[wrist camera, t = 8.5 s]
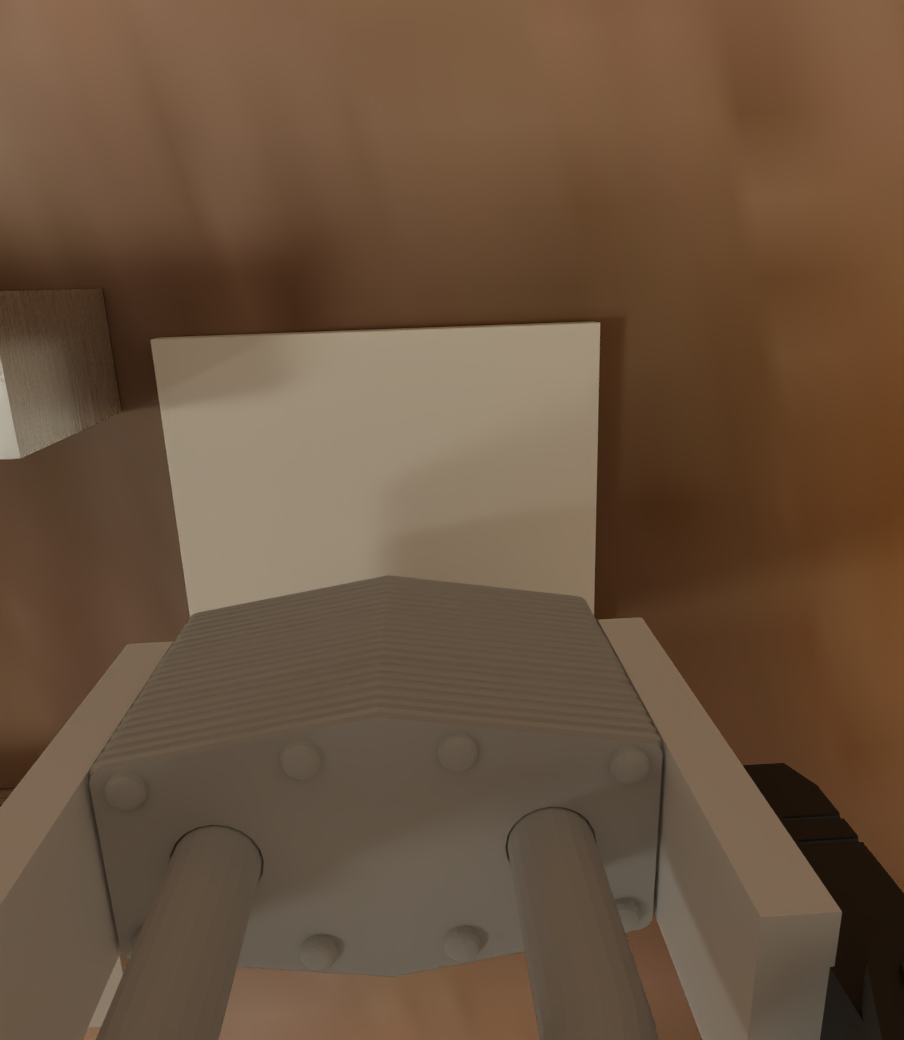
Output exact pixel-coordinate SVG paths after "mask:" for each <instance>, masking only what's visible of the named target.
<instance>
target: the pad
mask: <svg viewBox="0 0 904 1040" xmlns="http://www.w3.org/2000/svg"><path fill="white" fill-rule="evenodd" d="M150 341H151V348H152V355H153V362H154V369H155V376H156V383H157V390H158V397H159V404H160V411H161V418H162V425H163V432H164V439H165V446H166V453H167V460H168V467H169V474H170V481H171V488H172V495H173V502H174V509H175V516H176V523H177V530H178V537H179V544H180V551H181V558H182V565H183V572H184V579H185V586H186V593H187V600H188V607H189V614H190V616H192V615H193V614H195V613H198V612H203V611H208V610H213V609H219V608H224V607H229V606H234V605H239V604H244V603H249V602H254V601H259V600H265V599H270V598H275V597H280V596H285V595H290V594H295V593H300V592H305V591H310V590H316V589H321V588H326V587H331V586H336V585H341V584H346V583H351V582H356V581H361V580H367V579H372V578H377V577H382V576H387V575H390V576H399V577H408V578H417V579H426V580H435V581H444V582H454V583H463V584H472V585H481V586H490V587H499V588H508V589H517V590H526V591H535V592H544V593H553V594H562V595H572V596H579V597H582V598H583V599H585V600H586V602H587V604H588V606H589V608H590V609H591V611H592V613H593V615H594V591H595V544H596V498H597V452H598V405H599V359H600V323H599V322H594V321H590V322H563V323H536V324H509V325H482V326H455V327H428V328H402V329H375V330H348V331H321V332H294V333H267V334H240V335H213V336H186V337H160V338H155V339H151V340H150Z"/></svg>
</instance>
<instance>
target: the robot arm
mask: <svg viewBox="0 0 904 1040" xmlns="http://www.w3.org/2000/svg"><path fill="white" fill-rule="evenodd" d="M598 624H599V626H600V628H601V629H602V632H603V634H604V635H605V637H606V639H607V641H608V643H609V644H610V646H611V648H612V650H613V652H614V654H615V656H616V657H617V659H618V661H619V663H620V664H621V667H622V669H623V670H624V672H625V674H626V677H628V679H629V681H630V684H631V685H632V687H633V689H634V691H635V692H636V694H637V696H638V698H639V700H640V701H641V703H642V705H643V708H644V709H645V710H646V713H647V715H648V717H649V718H650V720H651V722H652V724H653V726H654V727H655V729H656V731H657V733H658V735H659V736H660V738H661V740H662V743H663V757H662V774H661V791H660V808H659V824H658V841H657V857H656V873H655V889H654V905H653V912H654V914H655V917H656V920H657V922H658V925H659V927H660V930H661V933H662V935H663V938H664V940H665V943H666V946H667V948H668V951H669V954H670V956H671V959H672V961H673V964H674V967H675V969H676V972H677V974H678V977H679V980H680V982H681V985H682V988H683V990H684V993H685V995H686V998H687V1001H688V1003H689V1006H690V1008H691V1011H692V1014H693V1016H694V1019H695V1022H696V1024H697V1027H698V1029H699V1032H700V1035H701V1037H702V1040H904V893H903V892H902V891H901V889H900V888H899V887H898V886H897V884H896V883H895V882H894V881H893V879H892V878H891V877H890V876H889V874H888V873H887V872H886V871H885V869H884V868H883V867H882V866H881V864H880V863H879V862H878V861H877V859H876V858H875V857H874V856H873V854H872V853H871V852H870V851H869V850H868V848H867V847H866V846H865V845H864V843H863V842H859V841H858V836H857V835H856V833H855V832H854V831H853V830H852V828H851V827H850V826H849V825H848V823H847V822H846V821H845V820H844V819H841V818H840V816H839V812H838V811H837V810H836V808H835V807H834V806H833V805H832V803H831V802H830V801H829V800H828V798H827V797H826V796H825V795H824V793H823V792H822V791H821V790H820V788H819V787H818V786H817V785H816V784H814V783H813V782H811V781H810V780H808V779H807V778H805V777H804V776H802V775H801V774H799V773H798V772H796V771H795V770H793V769H792V768H790V767H789V766H787V765H786V764H784V763H776V764H759V765H742V764H741V763H740V761H739V760H738V758H737V757H736V755H735V754H734V752H733V751H732V749H731V748H730V746H729V745H728V743H727V742H726V741H725V739H724V738H723V736H722V735H721V733H720V732H719V730H718V729H717V727H716V726H715V724H714V723H713V721H712V720H711V718H710V717H709V716H708V714H707V713H706V711H705V710H704V708H703V707H702V705H701V704H700V702H699V701H698V699H697V698H696V696H695V695H694V693H693V692H692V691H691V689H690V688H689V686H688V685H687V683H686V682H685V680H684V679H683V677H682V676H681V674H680V673H679V671H678V670H677V669H676V667H675V666H674V664H673V663H672V661H671V660H670V658H669V657H668V655H667V654H666V652H665V651H664V649H663V648H662V646H661V645H660V644H659V642H658V641H657V639H656V638H655V636H654V635H653V633H652V632H651V630H650V629H649V627H648V626H647V624H646V623H645V621H644V620H643V619H642V617H639V618H619V619H600V620H598ZM172 644H173V641H172V642H153V643H133V644H127V645H126V646H125V648H124V649H123V650H122V652H121V653H120V654H119V655H118V657H117V658H116V659H115V661H114V662H113V663H112V664H111V666H110V667H109V668H108V670H107V671H106V672H105V673H104V675H103V676H102V677H101V679H100V680H99V681H98V682H97V684H96V685H95V686H94V688H93V689H92V690H91V691H90V693H89V694H88V695H87V697H86V698H85V699H84V700H83V702H82V703H81V704H80V706H79V707H78V708H77V709H76V711H75V712H74V713H73V715H72V716H71V717H70V718H69V720H68V721H67V722H66V723H65V725H64V726H63V727H62V729H61V730H60V731H59V732H58V734H57V735H56V736H55V738H54V739H53V740H52V741H51V743H50V744H49V745H48V747H47V748H46V749H45V750H44V752H43V753H42V754H41V756H40V757H39V758H38V759H37V761H36V762H35V763H34V765H33V766H32V767H31V768H30V770H29V771H28V772H27V774H26V775H25V776H24V777H23V779H22V780H21V781H20V783H19V784H18V785H17V786H16V788H15V789H14V790H13V792H12V793H11V794H10V795H9V797H8V798H7V799H6V801H5V802H4V803H3V804H2V806H1V807H0V1040H83V1038H84V1035H85V1033H86V1031H87V1028H88V1026H89V1024H90V1022H91V1019H92V1017H93V1015H94V1012H95V1010H96V1008H97V1005H98V1003H99V1001H100V998H101V996H102V994H103V991H104V989H105V987H106V985H107V982H108V980H109V978H110V975H111V973H112V971H113V968H114V966H115V964H116V961H117V959H118V957H119V954H120V952H121V950H120V945H119V940H118V935H117V929H116V924H115V919H114V913H113V908H112V903H111V897H110V892H109V887H108V881H107V876H106V871H105V866H104V860H103V855H102V850H101V844H100V839H99V834H98V828H97V823H96V818H95V813H94V807H93V802H92V797H91V791H90V786H89V781H90V776H89V772H90V770H91V767H92V765H93V764H94V763H95V762H96V761H97V758H98V756H99V754H101V753H102V752H103V750H104V747H105V745H106V744H107V743H108V742H109V741H110V739H111V736H112V735H113V734H114V733H115V732H116V729H117V727H118V726H119V725H120V724H121V722H122V719H123V718H124V717H125V716H126V715H127V712H128V710H129V709H131V708H132V706H133V703H134V701H135V700H136V699H138V696H139V693H140V692H141V691H142V690H143V688H144V686H145V685H146V684H147V682H148V680H149V678H151V677H152V674H153V672H154V671H155V670H156V668H157V666H158V665H159V664H160V662H161V660H162V659H163V658H164V656H165V654H166V653H167V652H168V650H169V648H170V647H171V646H172Z"/></svg>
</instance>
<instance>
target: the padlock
mask: <svg viewBox="0 0 904 1040" xmlns="http://www.w3.org/2000/svg"><path fill="white" fill-rule="evenodd" d="M662 757H663V743H662V740H661V738H660V736H659V735H658V733H657V731H656V729H655V727H654V726H653V724H652V722H651V720H650V718H649V717H648V715H647V713H646V710H645V709H644V708H643V705H642V703H641V701H640V700H639V698H638V696H637V694H636V692H635V691H634V689H633V687H632V685H631V684H630V681H629V679H628V677H626V674H625V672H624V670H623V669H622V667H621V664H620V663H619V661H618V659H617V657H616V656H615V654H614V652H613V650H612V648H611V646H610V644H609V643H608V641H607V639H606V637H605V635H604V634H603V632H602V629H601V628H600V626H599V624H598V623H597V620H596V619H595V617H594V615H593V613H592V611H591V609H590V608H589V606H588V604H587V602H586V600H585V599H583V598H582V597H579V596H572V595H562V594H553V593H544V592H535V591H526V590H517V589H508V588H499V587H490V586H481V585H472V584H463V583H454V582H444V581H435V580H426V579H417V578H408V577H399V576H390V575H387V576H382V577H377V578H372V579H367V580H361V581H356V582H351V583H346V584H341V585H336V586H331V587H326V588H321V589H316V590H310V591H305V592H300V593H295V594H290V595H285V596H280V597H275V598H270V599H265V600H259V601H254V602H249V603H244V604H239V605H234V606H229V607H224V608H219V609H213V610H208V611H203V612H198V613H195V614H193V615H192V616H190V617H189V620H188V621H187V622H186V625H184V627H183V629H182V631H180V633H179V635H178V636H177V637H176V640H175V641H174V642H173V644H172V646H171V647H170V648H169V650H168V652H167V653H166V654H165V656H164V658H163V659H162V660H161V662H160V664H159V665H158V666H157V668H156V670H155V671H154V672H153V674H152V677H151V678H149V680H148V682H147V684H146V685H145V686H144V688H143V690H142V691H141V692H140V693H139V696H138V699H136V700H135V701H134V703H133V706H132V708H131V709H129V710H128V712H127V715H126V716H125V717H124V718H123V719H122V722H121V724H120V725H119V726H118V727H117V729H116V732H115V733H114V734H113V735H112V736H111V739H110V741H109V742H108V743H107V744H106V745H105V747H104V750H103V752H102V753H101V754H99V756H98V758H97V761H96V762H95V763H94V764H93V765H92V767H91V770H90V772H89V776H90V781H89V786H90V791H91V797H92V802H93V807H94V813H95V818H96V823H97V828H98V834H99V839H100V844H101V850H102V855H103V860H104V866H105V871H106V876H107V881H108V887H109V892H110V897H111V903H112V908H113V913H114V919H115V924H116V929H117V935H118V940H119V945H120V950H121V952H122V953H123V955H124V956H125V957H127V958H129V961H128V963H127V966H126V968H125V971H124V973H123V975H122V978H121V980H120V983H119V985H118V988H117V990H116V992H115V995H114V997H113V1000H112V1002H111V1004H110V1007H109V1009H108V1012H107V1014H106V1016H105V1019H104V1021H103V1024H102V1026H101V1028H100V1031H99V1033H98V1036H97V1038H96V1040H218V1039H219V1035H220V1031H221V1027H222V1023H223V1019H224V1015H225V1011H226V1007H227V1003H228V999H229V995H230V991H231V987H232V984H233V980H234V976H235V972H236V968H237V967H248V968H263V969H278V970H294V971H309V972H324V973H340V974H355V975H370V976H386V977H395V976H400V975H406V974H411V973H416V972H421V971H426V970H432V969H437V968H442V967H447V966H453V965H458V964H463V963H468V962H474V961H479V960H484V959H489V958H494V957H500V956H505V955H510V954H515V953H521V952H525V954H526V960H527V966H528V972H529V977H530V983H531V989H532V995H533V1001H534V1007H535V1013H536V1019H537V1025H538V1031H539V1037H540V1040H658V1037H657V1032H656V1027H655V1022H654V1019H653V1016H652V1013H651V1010H650V1007H649V1004H648V1001H647V998H646V995H645V991H644V988H643V985H642V982H641V979H640V976H639V973H638V970H637V967H636V964H635V961H634V958H633V955H632V952H631V949H630V946H629V943H628V940H627V937H626V932H630V931H636V930H641V929H644V928H645V927H647V926H649V924H650V923H651V921H652V919H653V905H654V889H655V873H656V857H657V841H658V824H659V808H660V791H661V774H662Z"/></svg>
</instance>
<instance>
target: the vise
mask: <svg viewBox="0 0 904 1040" xmlns="http://www.w3.org/2000/svg"><path fill="white" fill-rule="evenodd" d="M119 413H121V405H120V399H119V392H118V386H117V380H116V373H115V367H114V361H113V354H112V348H111V342H110V335H109V329H108V323H107V316H106V310H105V304H104V297H103V291H102V289H64V290H26V291H0V459H21V458H23V457H25V456H27V455H29V454H32V453H34V452H36V451H38V450H40V449H42V448H45V447H47V446H49V445H51V444H53V443H56V442H58V441H60V440H62V439H64V438H66V437H69V436H71V435H73V434H75V433H77V432H80V431H82V430H84V429H86V428H88V427H90V426H93V425H95V424H97V423H99V422H101V421H104V420H106V419H108V418H110V417H112V416H114V415H117V414H119ZM13 790H14V789H6V790H0V807H1V806H2V804H3V803H4V802H5V801H6V799H7V798H8V797H9V795H10V794H11V793H12V792H13ZM128 961H129V958H127V957H125V956H124V955H123V953H122V952H120V954H119V957H118V959H117V961H116V964H115V966H114V968H113V971H112V973H111V975H110V978H109V980H108V982H107V985H106V987H105V989H104V991H103V994H102V996H101V998H100V1001H99V1003H98V1005H97V1008H96V1010H95V1012H94V1015H93V1017H92V1019H91V1022H90V1024H89V1026H88V1028H92V1027H101V1026H102V1024H103V1021H104V1019H105V1016H106V1014H107V1012H108V1009H109V1007H110V1004H111V1002H112V1000H113V997H114V995H115V992H116V990H117V988H118V985H119V983H120V980H121V978H122V975H123V973H124V971H125V968H126V966H127V963H128Z"/></svg>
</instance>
